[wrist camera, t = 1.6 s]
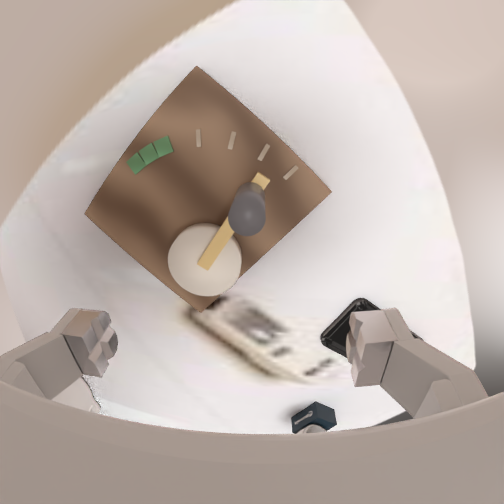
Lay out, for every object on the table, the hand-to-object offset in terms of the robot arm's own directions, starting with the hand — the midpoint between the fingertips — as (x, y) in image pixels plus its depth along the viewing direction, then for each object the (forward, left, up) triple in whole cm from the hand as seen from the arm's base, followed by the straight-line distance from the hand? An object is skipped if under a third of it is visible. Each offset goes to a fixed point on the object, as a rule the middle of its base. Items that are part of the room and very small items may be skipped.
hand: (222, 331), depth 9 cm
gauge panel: (-4, +3, -21) cm, 22 cm away
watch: (-19, -31, -21) cm, 42 cm away
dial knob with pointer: (-4, -1, -19) cm, 20 cm away
